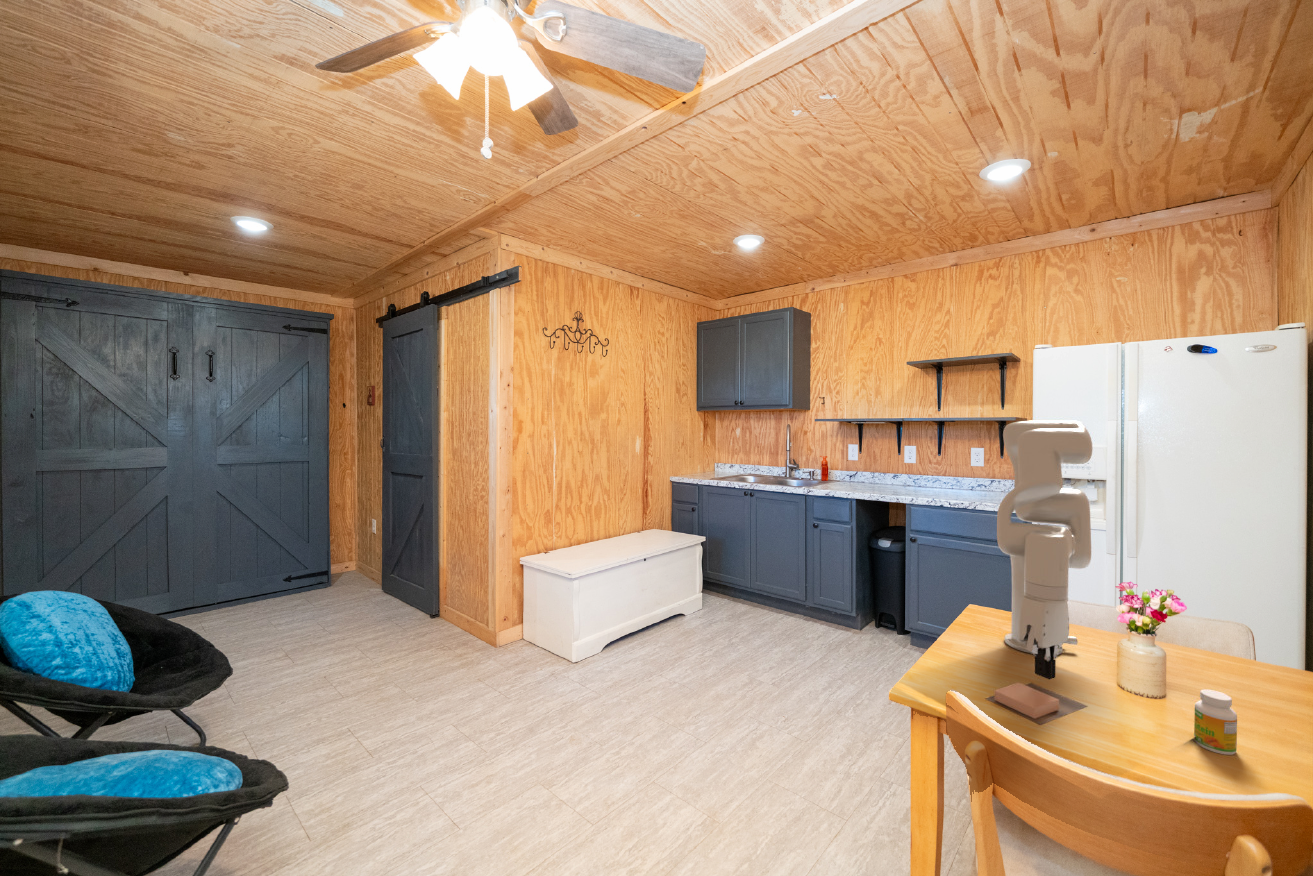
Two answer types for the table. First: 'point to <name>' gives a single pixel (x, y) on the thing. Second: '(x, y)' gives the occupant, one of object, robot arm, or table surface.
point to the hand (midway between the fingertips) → (1044, 675)
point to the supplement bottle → (1215, 723)
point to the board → (1064, 708)
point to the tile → (1026, 700)
